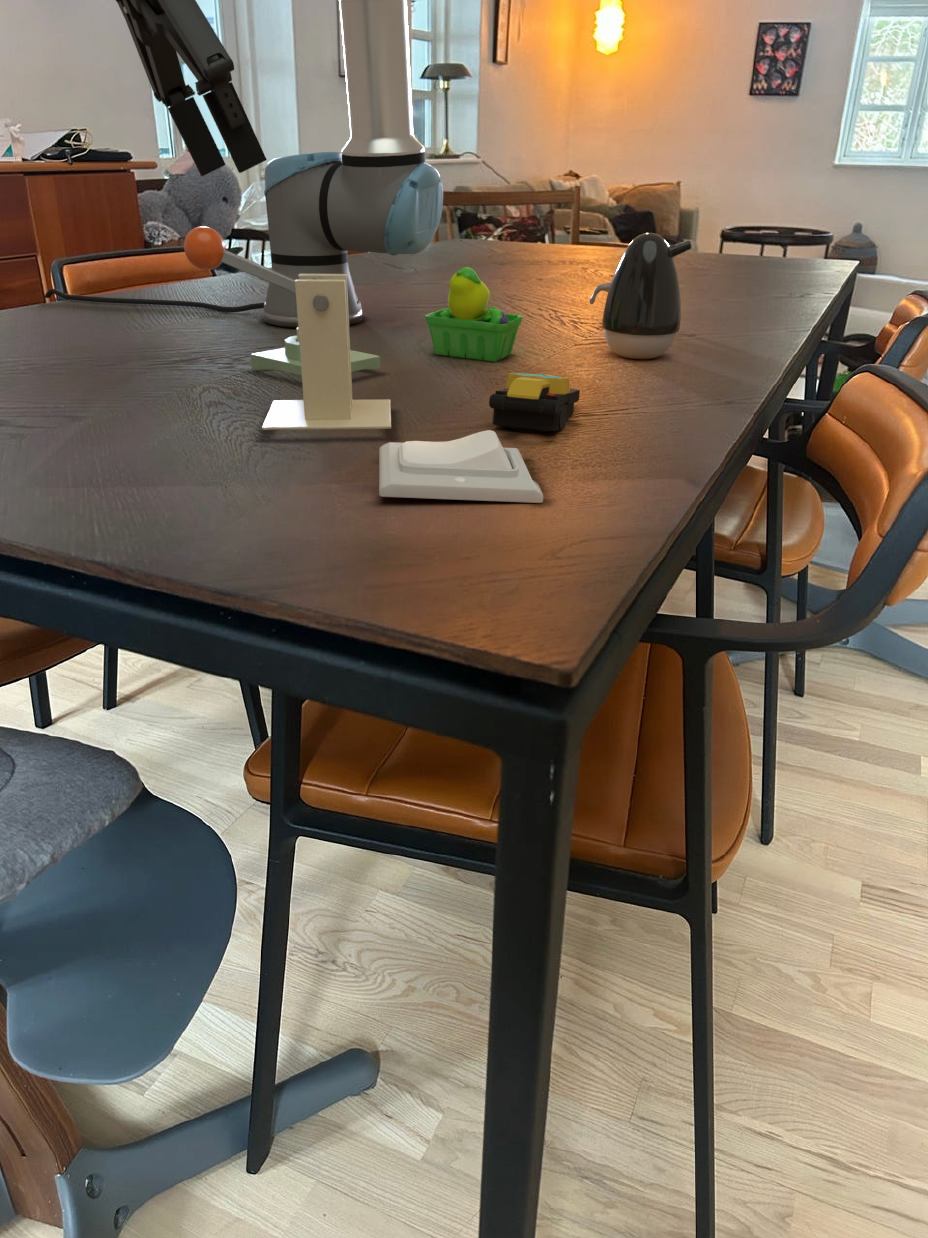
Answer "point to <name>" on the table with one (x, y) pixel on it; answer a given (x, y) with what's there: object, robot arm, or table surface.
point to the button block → (291, 360)
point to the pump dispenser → (644, 299)
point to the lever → (227, 257)
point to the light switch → (456, 470)
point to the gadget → (534, 402)
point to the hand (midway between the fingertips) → (232, 168)
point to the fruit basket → (472, 322)
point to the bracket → (325, 364)
